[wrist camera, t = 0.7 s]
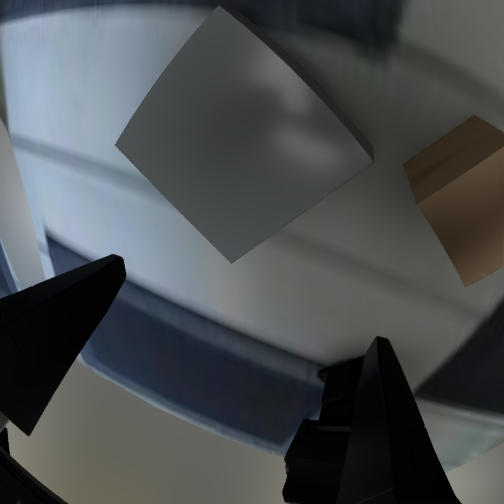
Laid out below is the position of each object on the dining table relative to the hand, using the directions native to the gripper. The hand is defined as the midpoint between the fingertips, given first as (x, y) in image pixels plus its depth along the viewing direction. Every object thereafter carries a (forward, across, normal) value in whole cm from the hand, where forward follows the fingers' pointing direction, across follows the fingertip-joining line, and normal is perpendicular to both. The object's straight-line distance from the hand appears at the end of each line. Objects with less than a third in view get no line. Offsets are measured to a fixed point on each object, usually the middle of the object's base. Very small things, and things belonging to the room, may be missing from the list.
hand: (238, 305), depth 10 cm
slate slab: (+13, +5, -2) cm, 14 cm away
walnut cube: (+13, -10, -3) cm, 17 cm away
